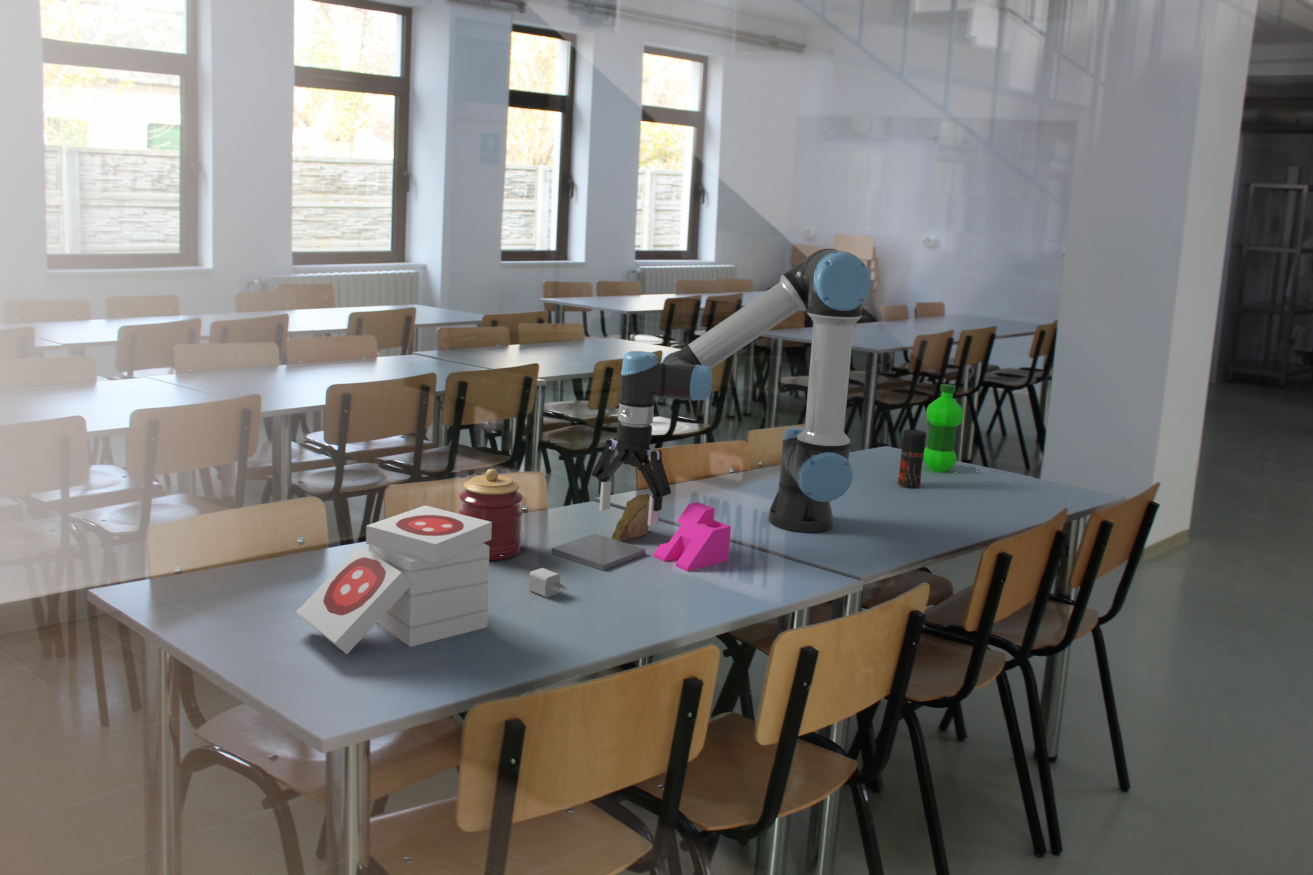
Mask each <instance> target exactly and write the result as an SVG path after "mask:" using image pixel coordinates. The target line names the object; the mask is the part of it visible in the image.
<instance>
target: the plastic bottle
mask: <svg viewBox="0 0 1313 875" xmlns="http://www.w3.org/2000/svg"><path fill="white" fill-rule="evenodd" d="M939 388H940V390H939V391H940V392H941V395H940V396H939V397H938V398H936V399H935V400H933V401H932V402H931V403H930V404H928V406H927V408H926V413H925V414H926V419H927V422H929V426H928V435H927V442H926V445H925V446H926V447H925V449H924V457H923V463H924V465H925V466H926V467H927V469H928V470H930V471H932V472H936V473H937V472H938V473H945V472H947V471H949V470H951V469H952V468H953V467H954V466H955V465H956V463H957V454H956V453H957V452H955V449H956V447H955V446H956V441H957V440H956V439H957V430H958V426H960V425H961V424H962V423H963V419H964V411H963V408H962V407H961V405H960V403H958V401H957V400H956V399H955V398H953V396H954V394H955V393H956V388H957V386H956V385H954V384H951V383H950V384H948V383H947V384H946V383H941V384H940V387H939Z"/></svg>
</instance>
